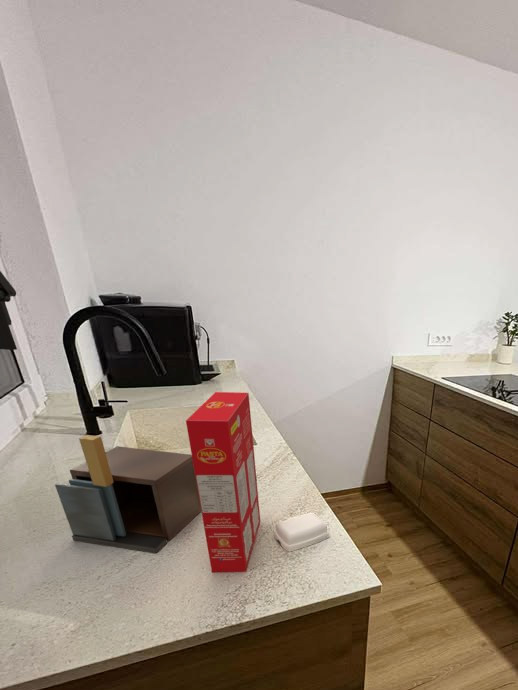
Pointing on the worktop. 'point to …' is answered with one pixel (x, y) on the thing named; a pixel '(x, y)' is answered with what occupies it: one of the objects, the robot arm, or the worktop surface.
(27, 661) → the worktop surface
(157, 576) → the worktop surface
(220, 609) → the worktop surface
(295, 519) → the soap
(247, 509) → the food packaging
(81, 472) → the cabinet
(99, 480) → the grey door panel
